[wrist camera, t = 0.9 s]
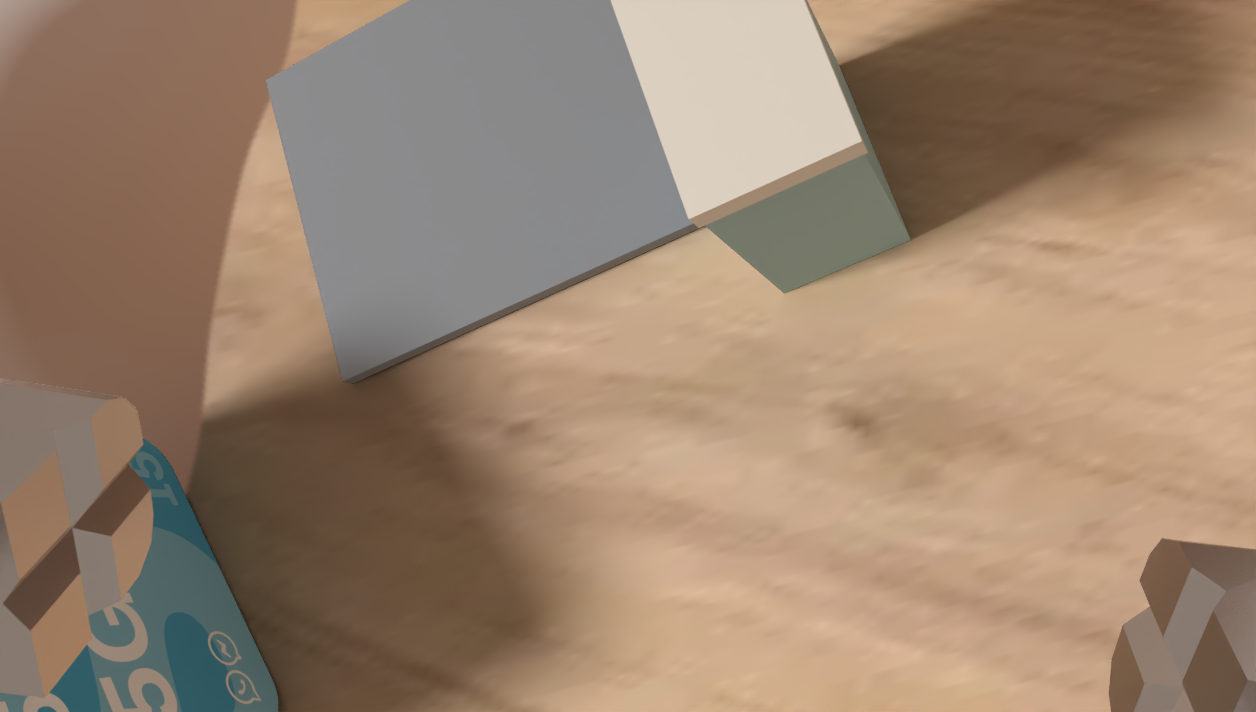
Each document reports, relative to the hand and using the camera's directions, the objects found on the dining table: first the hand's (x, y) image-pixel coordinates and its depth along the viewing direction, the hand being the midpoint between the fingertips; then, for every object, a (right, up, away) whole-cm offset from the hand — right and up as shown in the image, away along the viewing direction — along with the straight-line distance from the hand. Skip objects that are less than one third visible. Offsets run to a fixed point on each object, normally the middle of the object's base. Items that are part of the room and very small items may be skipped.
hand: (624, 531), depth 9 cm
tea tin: (+6, +7, +26) cm, 27 cm away
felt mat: (-5, +9, +30) cm, 32 cm away
